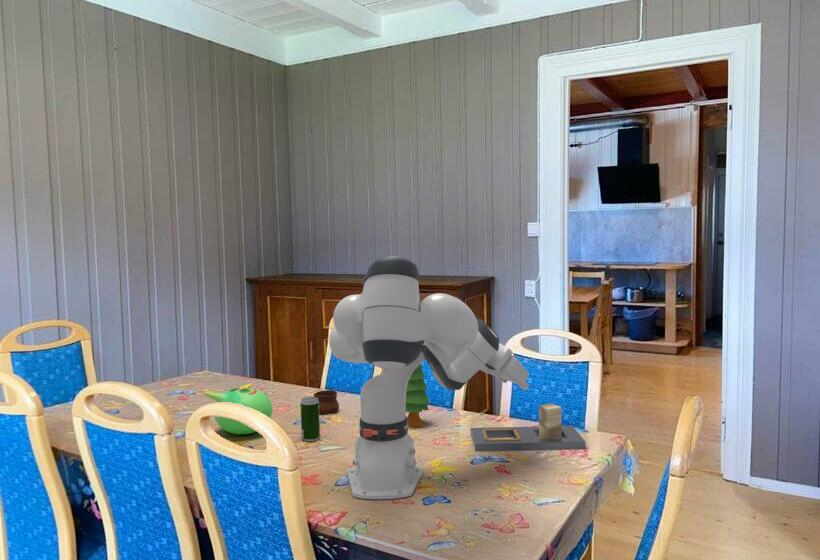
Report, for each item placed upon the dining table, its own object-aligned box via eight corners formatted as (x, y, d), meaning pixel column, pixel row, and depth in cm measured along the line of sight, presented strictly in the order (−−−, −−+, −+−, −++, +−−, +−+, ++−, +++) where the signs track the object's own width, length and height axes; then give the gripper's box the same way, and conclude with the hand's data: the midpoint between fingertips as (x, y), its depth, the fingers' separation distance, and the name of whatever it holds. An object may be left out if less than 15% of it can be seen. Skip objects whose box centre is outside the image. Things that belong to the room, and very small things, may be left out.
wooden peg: (561, 441, 177) (561, 407, 176) (549, 444, 175) (548, 409, 174) (551, 437, 181) (551, 403, 180) (539, 440, 179) (539, 405, 178)
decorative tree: (395, 422, 198) (393, 328, 196) (422, 418, 203) (419, 326, 201) (409, 431, 190) (407, 332, 188) (436, 426, 194) (435, 329, 192)
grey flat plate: (585, 448, 171) (585, 440, 171) (475, 451, 171) (475, 443, 171) (572, 432, 185) (572, 425, 185) (470, 434, 185) (470, 427, 185)
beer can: (306, 443, 181) (304, 402, 180) (298, 438, 185) (297, 398, 184) (323, 439, 184) (321, 399, 183) (315, 434, 188) (314, 395, 187)
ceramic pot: (341, 421, 202) (341, 399, 202) (290, 419, 206) (290, 397, 206) (359, 406, 220) (358, 387, 219) (312, 405, 224) (311, 385, 224)
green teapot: (283, 429, 194) (282, 382, 193) (243, 446, 180) (241, 395, 179) (241, 421, 203) (239, 377, 202) (200, 436, 189) (198, 388, 188)
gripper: (458, 355, 175) (488, 385, 180) (498, 368, 156) (531, 402, 161) (471, 337, 176) (501, 368, 181) (513, 349, 158) (545, 382, 163)
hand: (515, 384), depth 171 cm, fingers open, 8 cm apart
